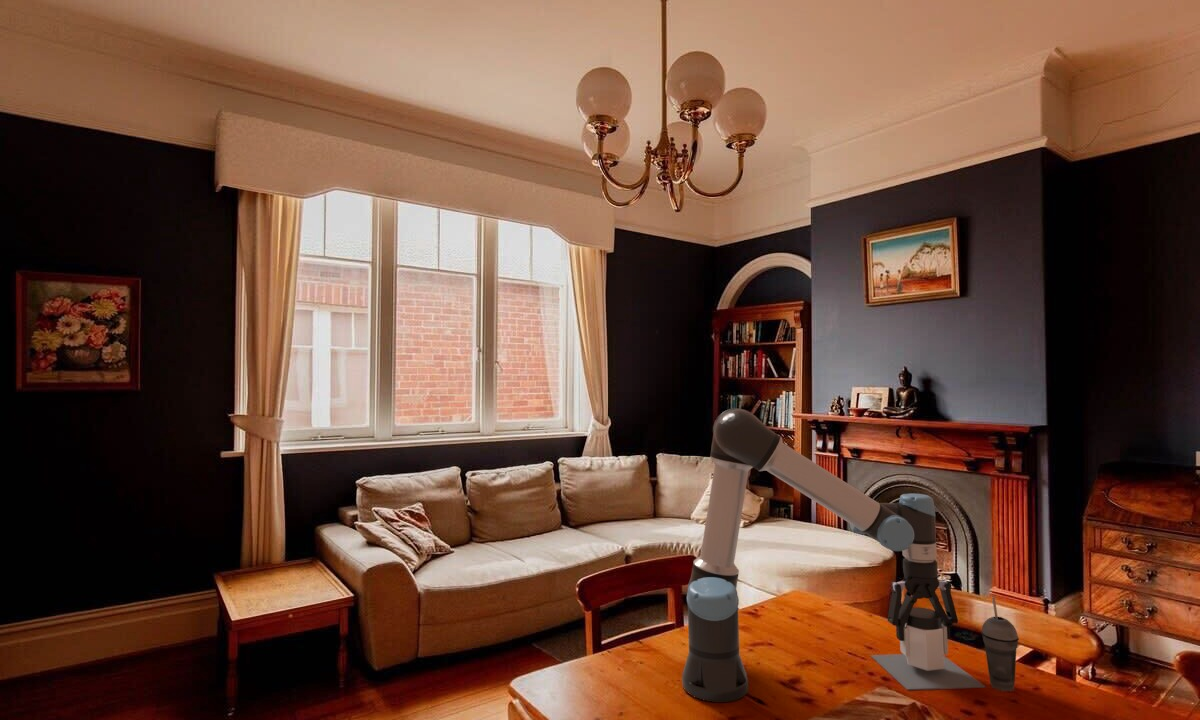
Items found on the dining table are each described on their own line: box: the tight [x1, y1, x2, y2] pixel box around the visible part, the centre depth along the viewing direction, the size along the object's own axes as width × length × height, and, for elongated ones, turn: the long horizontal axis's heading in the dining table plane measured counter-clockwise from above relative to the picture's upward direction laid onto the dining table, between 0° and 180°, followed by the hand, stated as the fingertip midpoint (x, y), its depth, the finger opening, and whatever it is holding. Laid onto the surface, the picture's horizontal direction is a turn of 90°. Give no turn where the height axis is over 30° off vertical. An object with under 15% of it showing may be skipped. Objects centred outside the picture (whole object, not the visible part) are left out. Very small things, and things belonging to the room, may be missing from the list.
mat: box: [870, 653, 986, 691], centre depth 151 cm, size 18×18×1 cm
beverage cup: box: [981, 595, 1019, 692], centre depth 143 cm, size 7×7×20 cm
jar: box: [905, 606, 945, 671], centre depth 152 cm, size 9×8×12 cm
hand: (924, 652), depth 152 cm, fingers closed on jar, 9 cm apart
